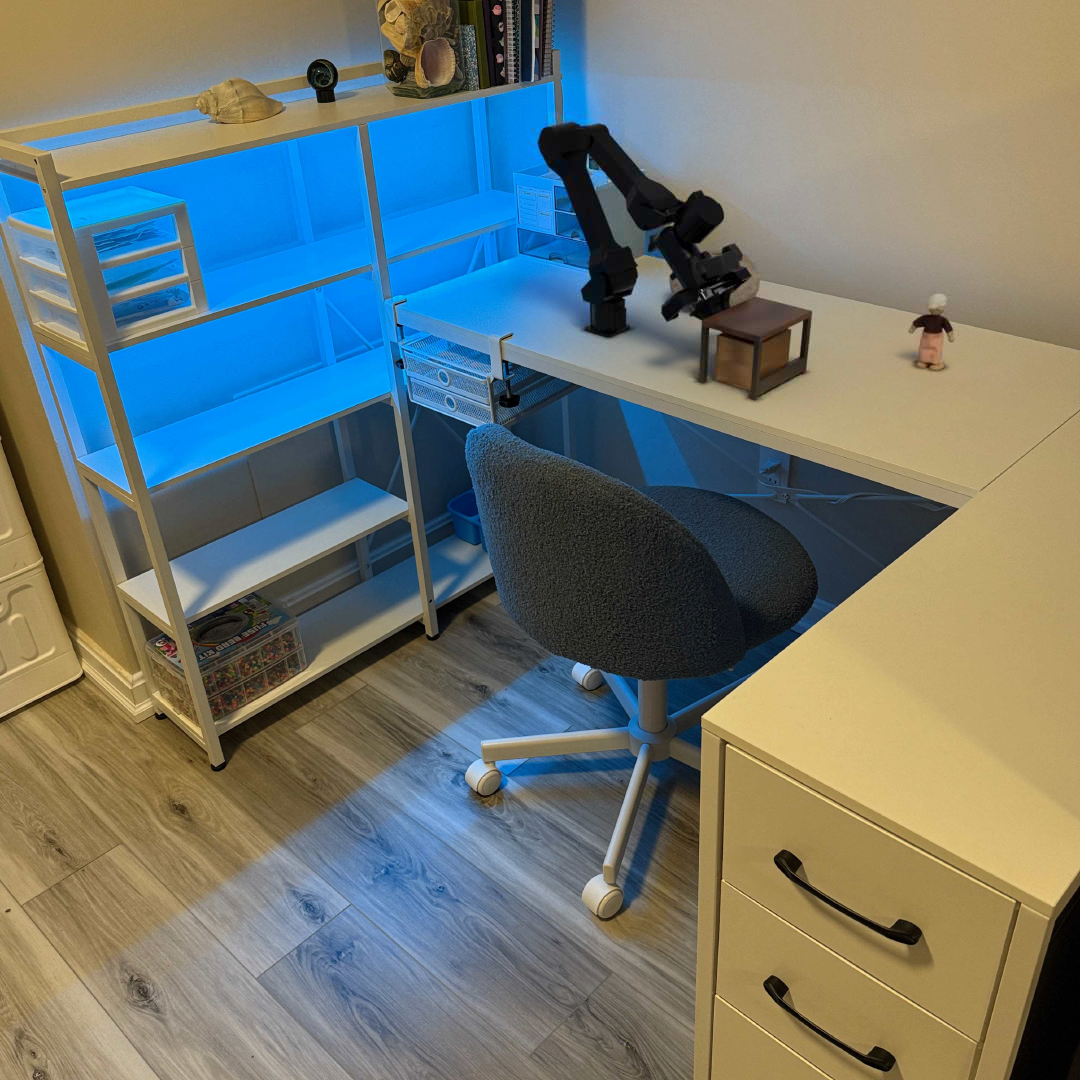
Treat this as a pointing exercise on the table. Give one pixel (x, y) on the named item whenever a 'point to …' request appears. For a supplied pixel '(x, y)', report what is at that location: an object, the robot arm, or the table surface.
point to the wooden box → (748, 357)
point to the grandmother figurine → (932, 332)
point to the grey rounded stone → (742, 292)
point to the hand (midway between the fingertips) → (732, 335)
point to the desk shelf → (759, 337)
